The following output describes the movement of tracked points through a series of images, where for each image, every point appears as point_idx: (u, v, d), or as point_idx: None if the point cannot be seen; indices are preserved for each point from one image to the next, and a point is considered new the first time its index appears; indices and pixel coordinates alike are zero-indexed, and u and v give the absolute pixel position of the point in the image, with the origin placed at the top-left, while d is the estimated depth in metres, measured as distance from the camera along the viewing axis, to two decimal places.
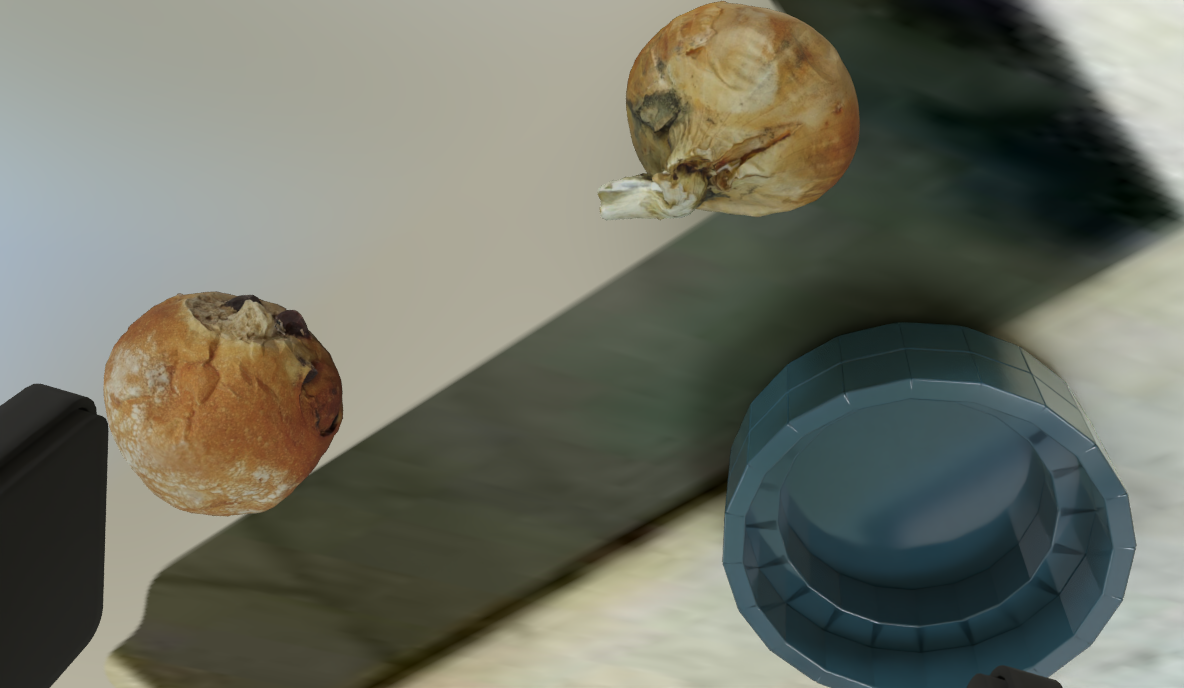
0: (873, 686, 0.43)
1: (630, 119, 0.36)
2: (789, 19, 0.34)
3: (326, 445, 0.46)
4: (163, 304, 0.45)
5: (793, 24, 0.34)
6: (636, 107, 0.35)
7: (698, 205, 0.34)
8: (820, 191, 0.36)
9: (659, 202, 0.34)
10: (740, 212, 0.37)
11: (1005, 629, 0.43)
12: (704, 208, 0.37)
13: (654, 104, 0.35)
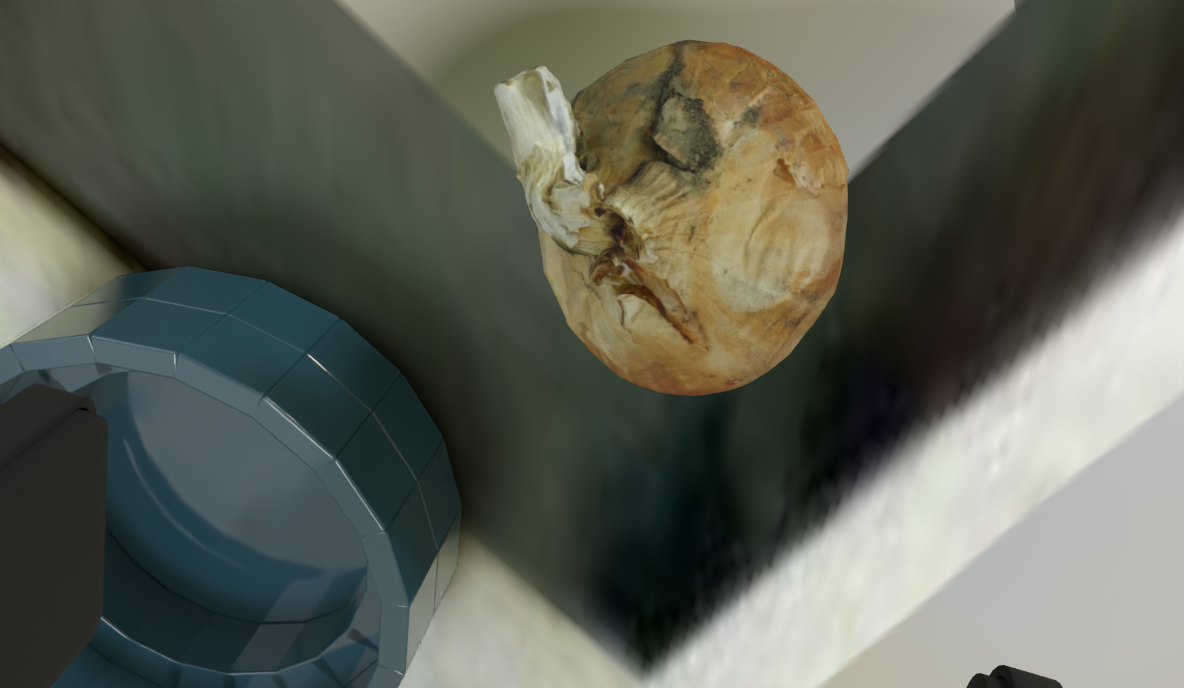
0: None
1: (652, 69, 0.23)
2: (838, 277, 0.24)
3: None
4: None
5: (833, 287, 0.23)
6: (679, 87, 0.22)
7: (559, 245, 0.21)
8: (606, 364, 0.25)
9: (546, 177, 0.21)
10: (547, 257, 0.25)
11: (100, 650, 0.34)
12: None
13: (691, 121, 0.22)
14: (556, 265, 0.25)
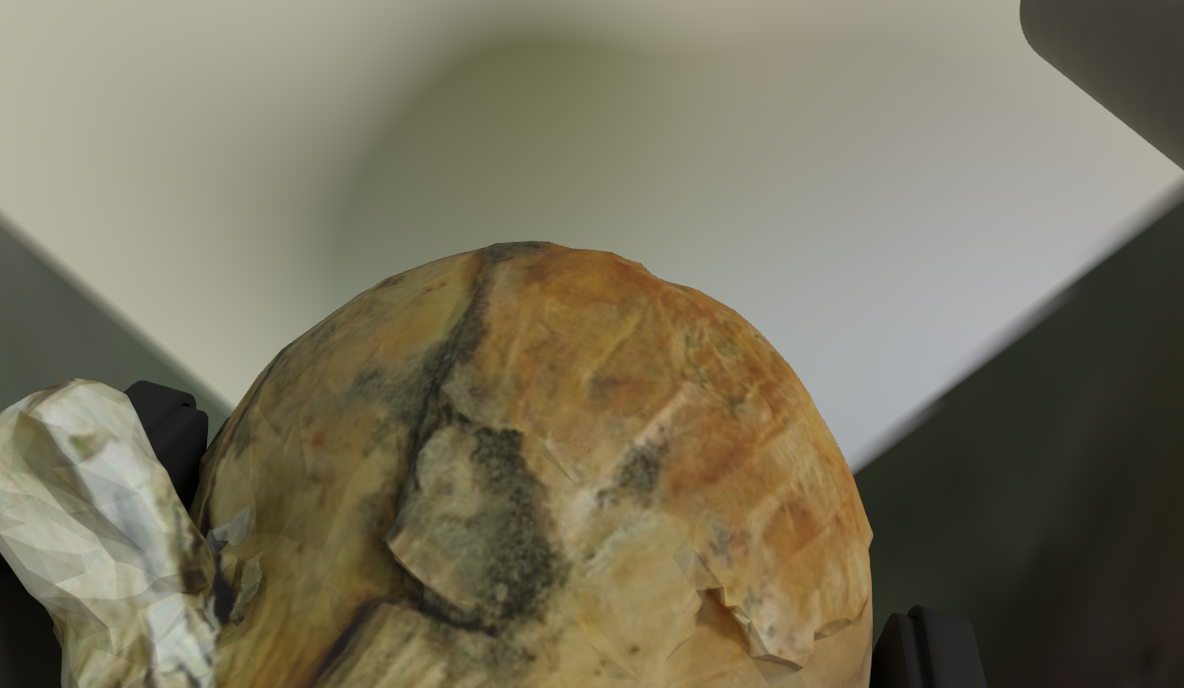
0: None
1: (417, 333, 0.10)
2: None
3: None
4: None
5: None
6: (465, 402, 0.09)
7: None
8: None
9: (103, 662, 0.08)
10: None
11: None
12: None
13: (492, 490, 0.09)
14: None
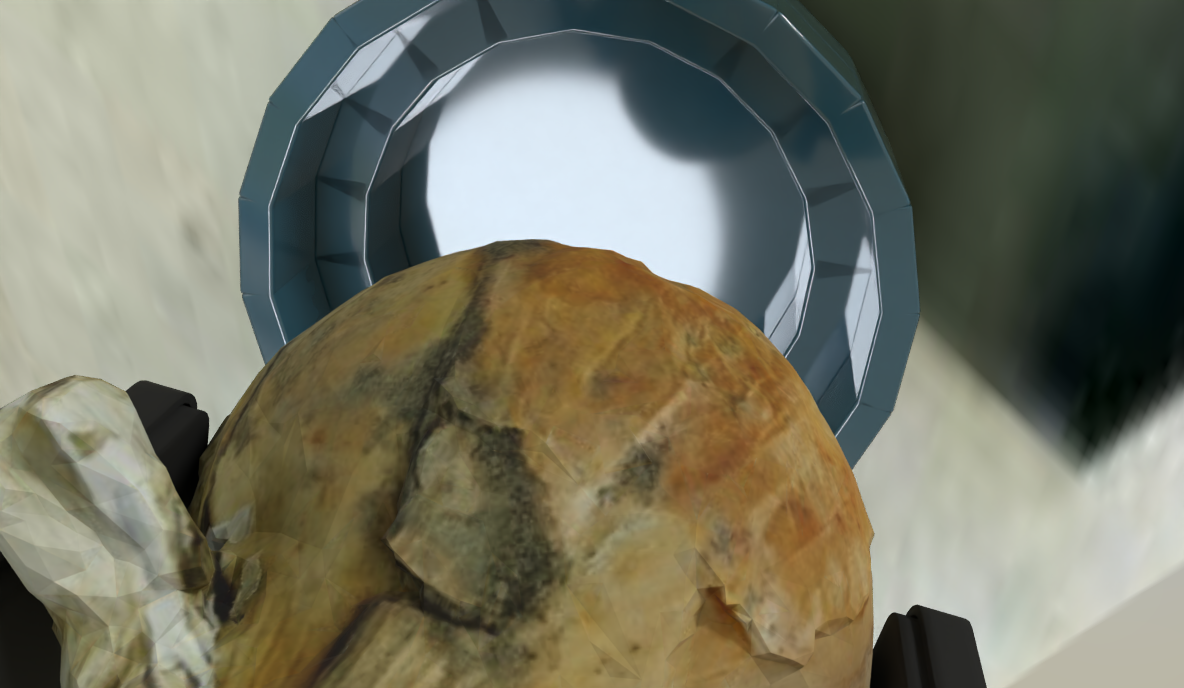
0: (273, 291, 0.24)
1: (417, 330, 0.10)
2: None
3: None
4: None
5: None
6: (466, 400, 0.09)
7: None
8: None
9: (102, 660, 0.08)
10: None
11: None
12: None
13: (493, 488, 0.09)
14: None
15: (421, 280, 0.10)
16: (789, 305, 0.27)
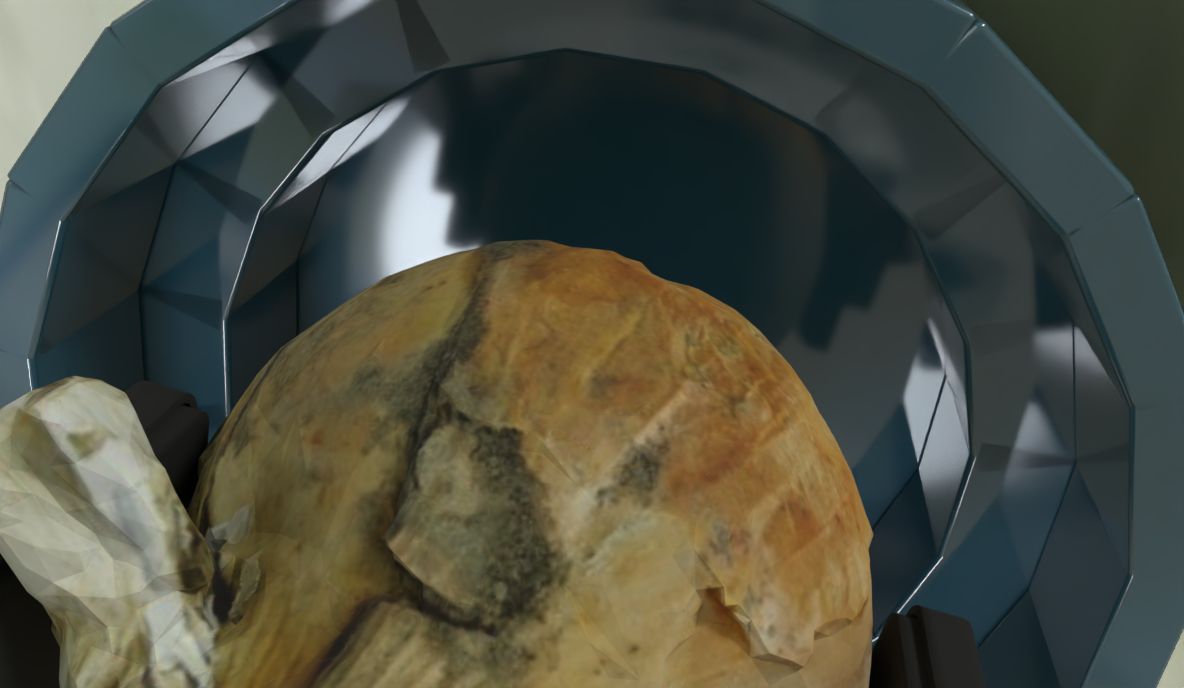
0: None
1: (416, 331, 0.10)
2: None
3: None
4: None
5: None
6: (465, 401, 0.09)
7: None
8: None
9: (102, 661, 0.08)
10: None
11: None
12: None
13: (491, 490, 0.09)
14: None
15: (420, 281, 0.10)
16: (908, 480, 0.17)
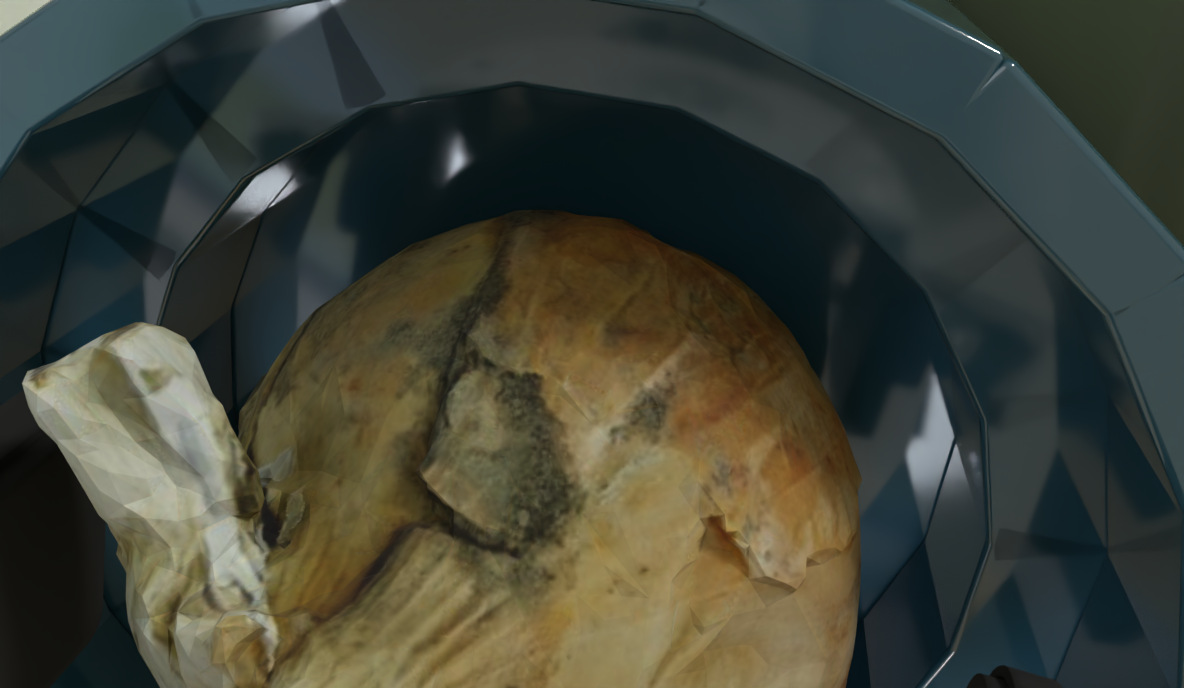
0: None
1: (444, 289, 0.10)
2: None
3: None
4: None
5: None
6: (490, 347, 0.10)
7: None
8: None
9: (165, 578, 0.09)
10: None
11: None
12: None
13: (514, 427, 0.10)
14: None
15: (446, 246, 0.11)
16: (912, 553, 0.15)
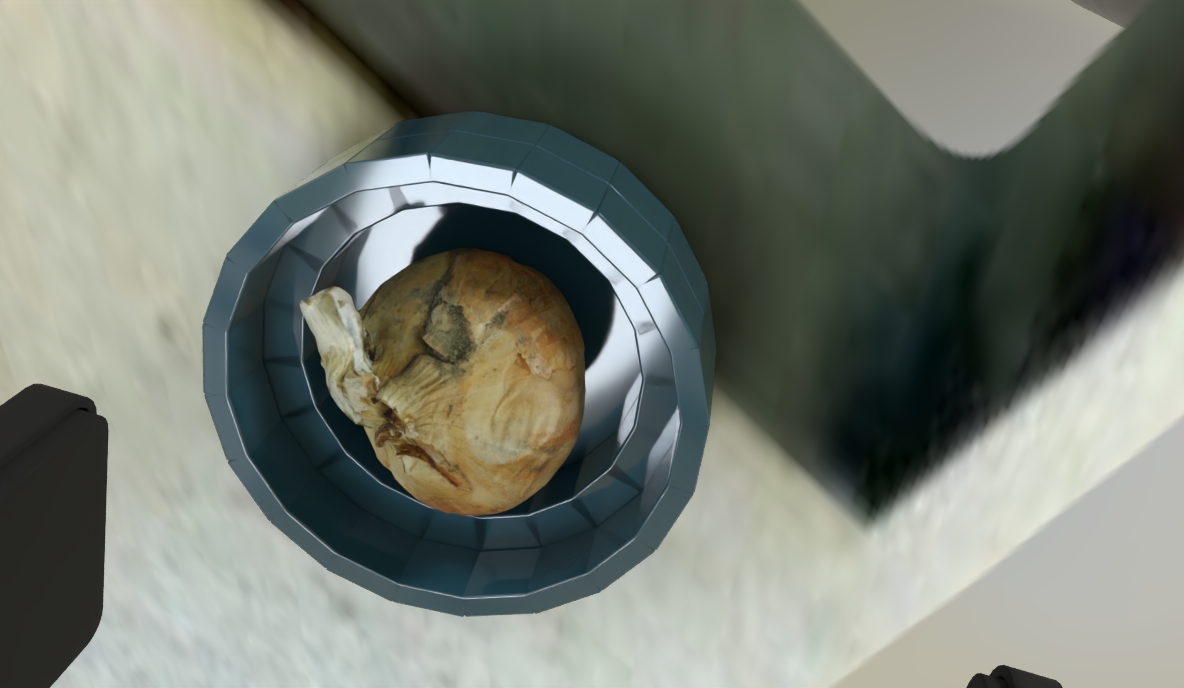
0: (229, 392, 0.31)
1: (430, 277, 0.30)
2: (578, 430, 0.31)
3: None
4: None
5: (573, 438, 0.31)
6: (446, 297, 0.29)
7: (350, 418, 0.28)
8: None
9: (340, 368, 0.28)
10: None
11: (351, 497, 0.35)
12: None
13: (453, 323, 0.29)
14: None
15: (431, 261, 0.30)
16: (636, 398, 0.35)
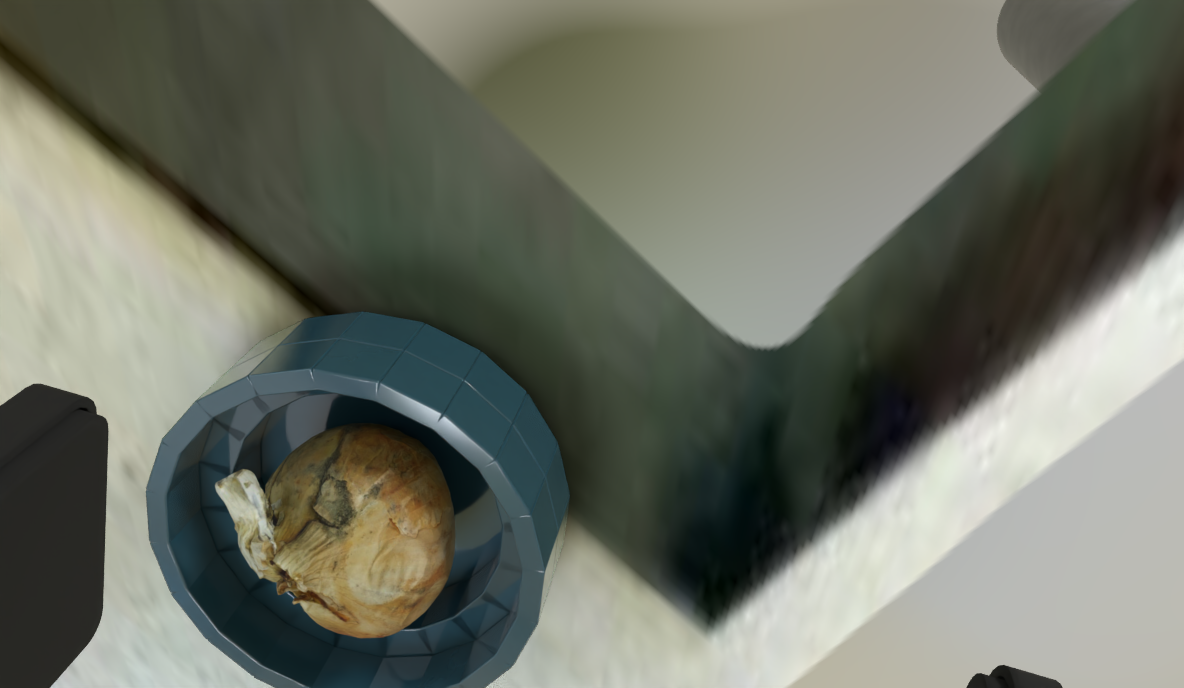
0: (169, 541, 0.39)
1: (323, 454, 0.37)
2: (447, 570, 0.38)
3: None
4: None
5: (443, 578, 0.38)
6: (333, 473, 0.37)
7: None
8: None
9: (248, 533, 0.36)
10: None
11: (278, 613, 0.43)
12: None
13: (338, 495, 0.36)
14: None
15: (326, 438, 0.38)
16: None
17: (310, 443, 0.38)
